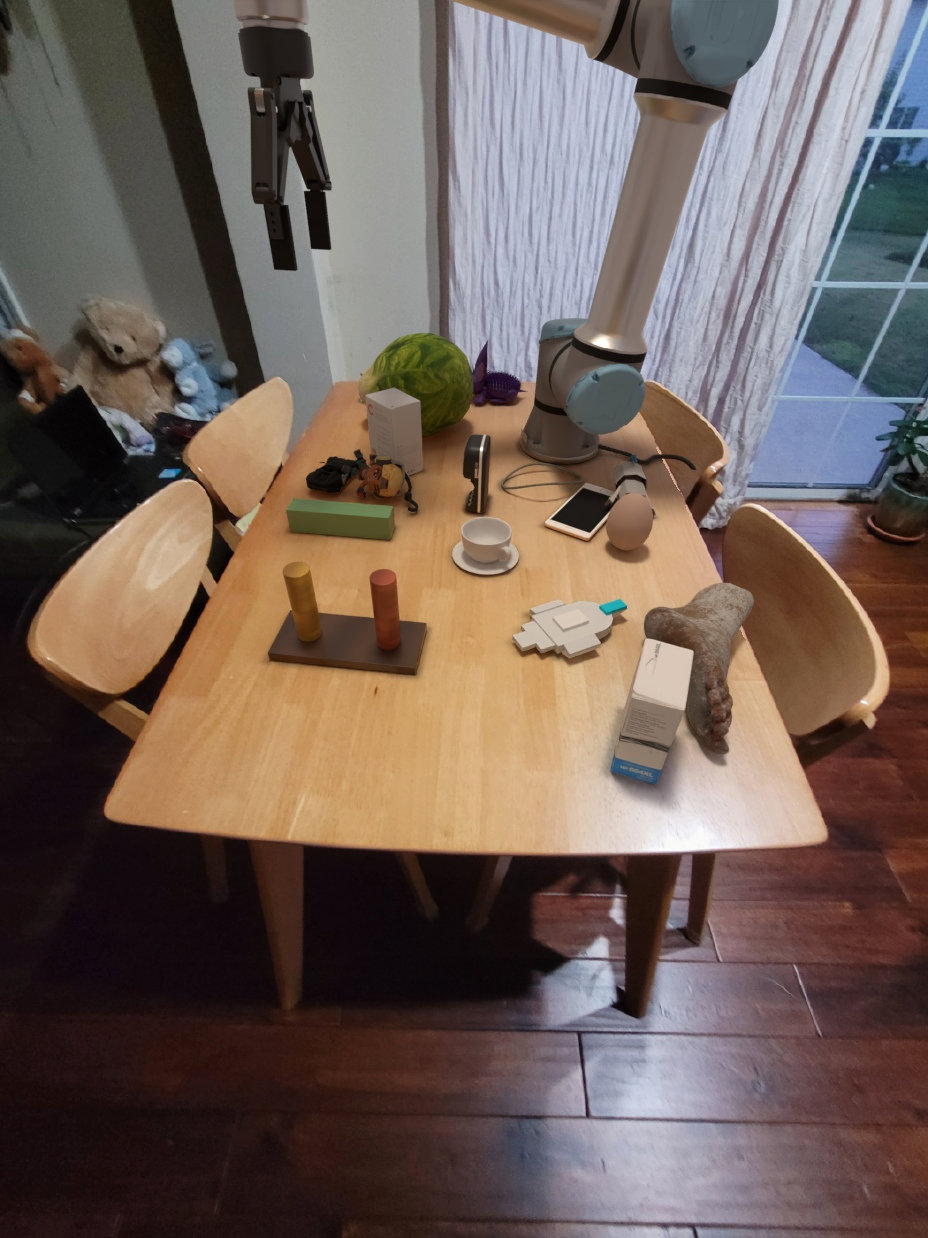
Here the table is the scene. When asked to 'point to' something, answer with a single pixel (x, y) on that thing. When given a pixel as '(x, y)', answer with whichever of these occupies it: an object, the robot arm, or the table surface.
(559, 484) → the loop
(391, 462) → the toy
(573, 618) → the toy rocket
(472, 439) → the battery charger
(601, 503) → the cell phone
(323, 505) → the bar
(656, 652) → the ink box
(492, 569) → the teacup
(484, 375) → the creature
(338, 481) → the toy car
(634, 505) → the egg
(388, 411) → the small box
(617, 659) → the table surface
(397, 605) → the rods
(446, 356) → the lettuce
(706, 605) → the sculpture
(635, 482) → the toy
